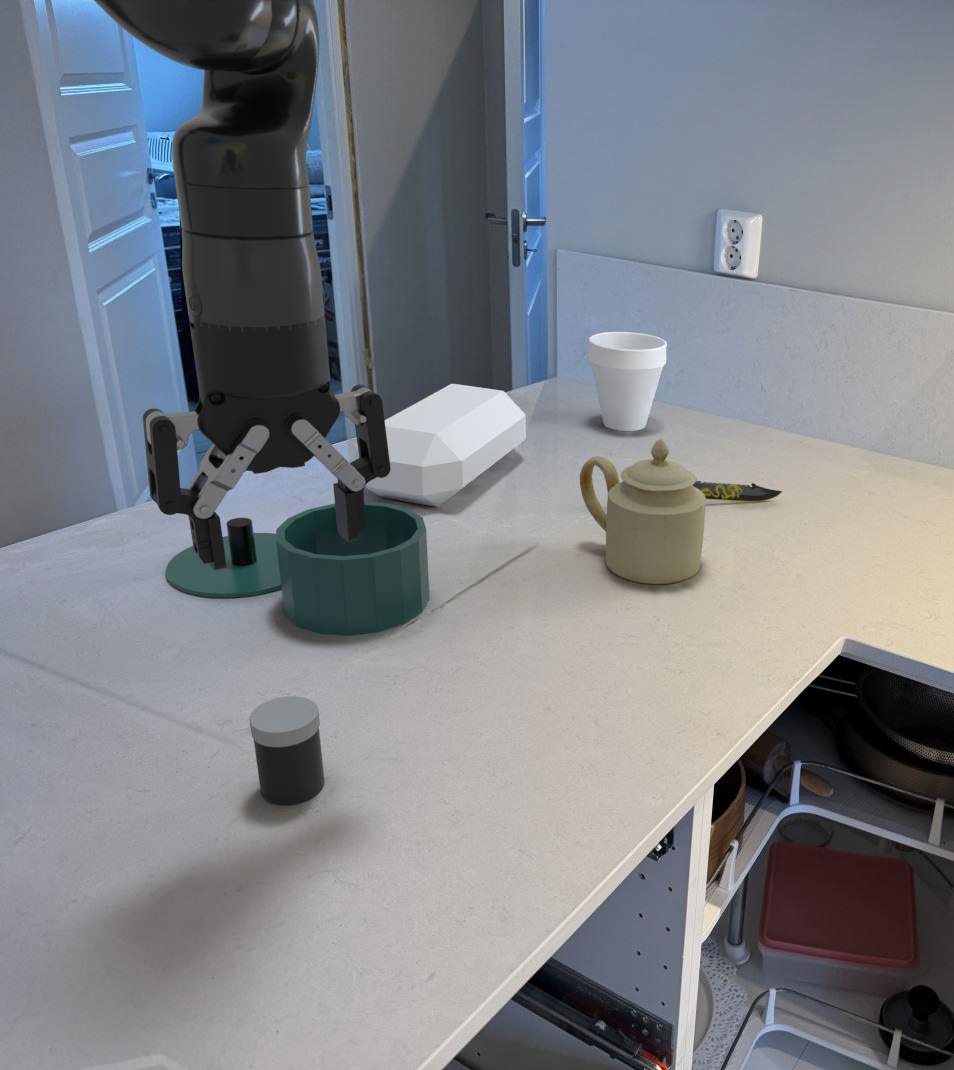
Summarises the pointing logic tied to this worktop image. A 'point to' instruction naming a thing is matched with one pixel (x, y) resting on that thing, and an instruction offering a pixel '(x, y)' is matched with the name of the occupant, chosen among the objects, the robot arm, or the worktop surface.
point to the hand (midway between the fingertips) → (284, 550)
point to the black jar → (288, 749)
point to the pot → (353, 570)
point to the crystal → (447, 443)
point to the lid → (230, 565)
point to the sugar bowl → (649, 518)
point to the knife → (735, 492)
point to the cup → (626, 376)
